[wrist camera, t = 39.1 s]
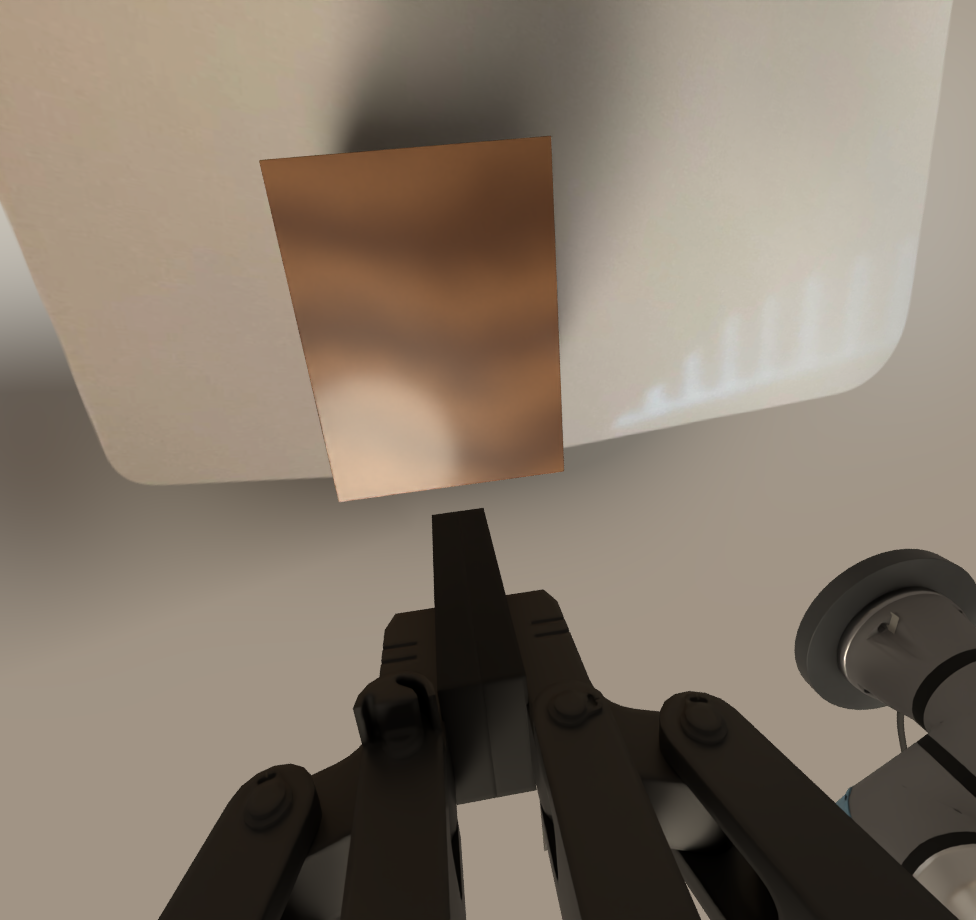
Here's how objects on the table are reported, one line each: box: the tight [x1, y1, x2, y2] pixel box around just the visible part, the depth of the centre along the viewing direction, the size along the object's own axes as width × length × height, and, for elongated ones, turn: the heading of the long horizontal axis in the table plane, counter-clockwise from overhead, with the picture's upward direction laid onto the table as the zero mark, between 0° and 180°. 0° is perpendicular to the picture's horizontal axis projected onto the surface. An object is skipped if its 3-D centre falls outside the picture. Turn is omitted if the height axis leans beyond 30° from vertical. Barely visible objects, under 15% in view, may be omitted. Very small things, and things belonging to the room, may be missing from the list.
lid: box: [259, 136, 564, 502], centre depth 29 cm, size 19×15×1 cm
